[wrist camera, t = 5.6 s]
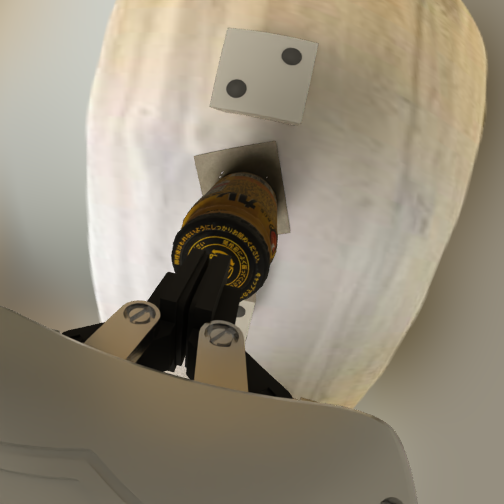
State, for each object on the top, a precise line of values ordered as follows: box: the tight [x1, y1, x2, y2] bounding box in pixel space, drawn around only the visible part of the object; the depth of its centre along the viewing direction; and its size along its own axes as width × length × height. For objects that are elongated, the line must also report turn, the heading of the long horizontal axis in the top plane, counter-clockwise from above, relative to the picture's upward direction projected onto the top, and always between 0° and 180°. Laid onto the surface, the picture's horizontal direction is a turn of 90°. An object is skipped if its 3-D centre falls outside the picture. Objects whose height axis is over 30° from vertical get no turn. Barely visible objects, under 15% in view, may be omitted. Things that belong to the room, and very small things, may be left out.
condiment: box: [171, 141, 290, 302], centre depth 19 cm, size 7×8×12 cm
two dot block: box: [210, 28, 318, 126], centre depth 17 cm, size 6×6×6 cm
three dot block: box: [235, 292, 257, 344], centre depth 26 cm, size 6×6×6 cm
